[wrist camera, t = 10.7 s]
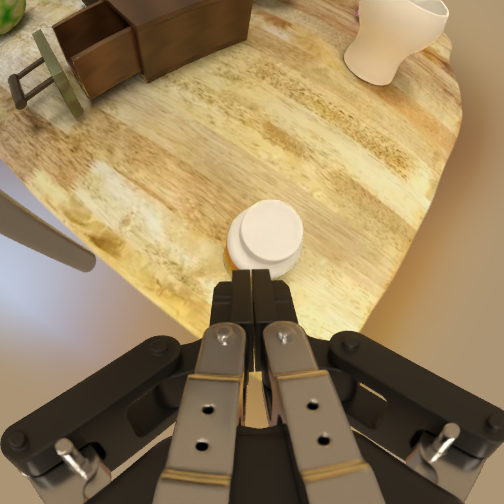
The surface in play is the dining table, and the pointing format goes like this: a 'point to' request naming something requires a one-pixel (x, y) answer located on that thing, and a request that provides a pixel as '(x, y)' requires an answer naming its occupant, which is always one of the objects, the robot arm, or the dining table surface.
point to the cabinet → (182, 30)
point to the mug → (89, 2)
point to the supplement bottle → (265, 239)
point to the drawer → (85, 55)
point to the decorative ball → (10, 14)
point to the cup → (392, 35)
